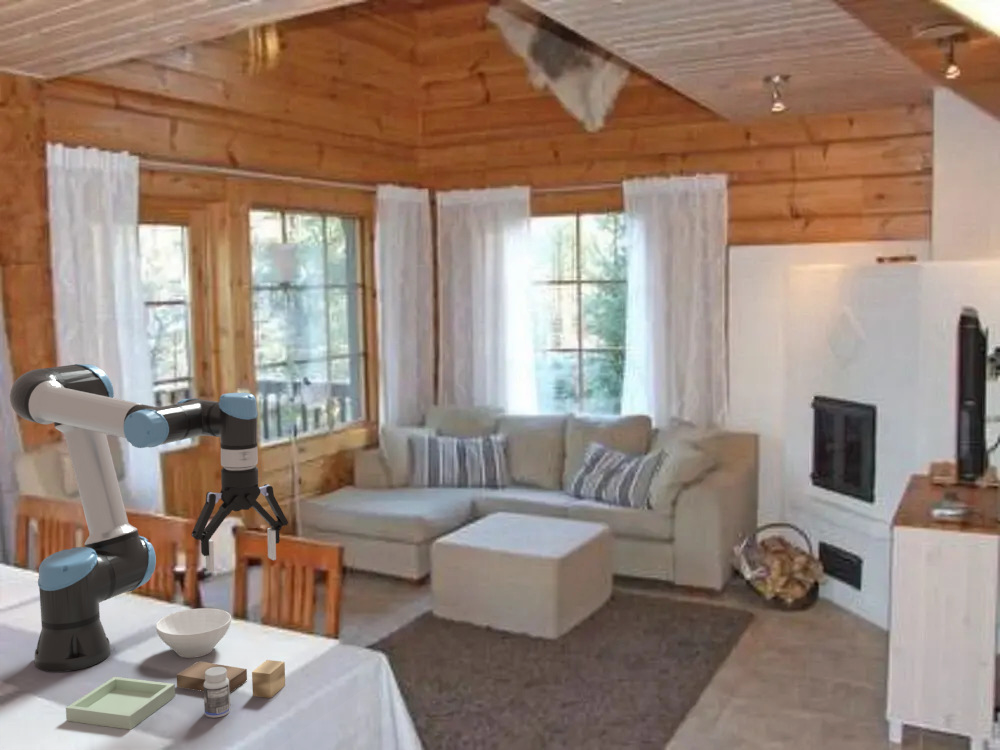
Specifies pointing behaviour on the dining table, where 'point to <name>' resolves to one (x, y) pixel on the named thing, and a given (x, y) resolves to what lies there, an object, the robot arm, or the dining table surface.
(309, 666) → the dining table surface
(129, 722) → the tray
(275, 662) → the wooden block
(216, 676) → the pill bottle
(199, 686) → the brown cardboard box
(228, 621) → the bowl
